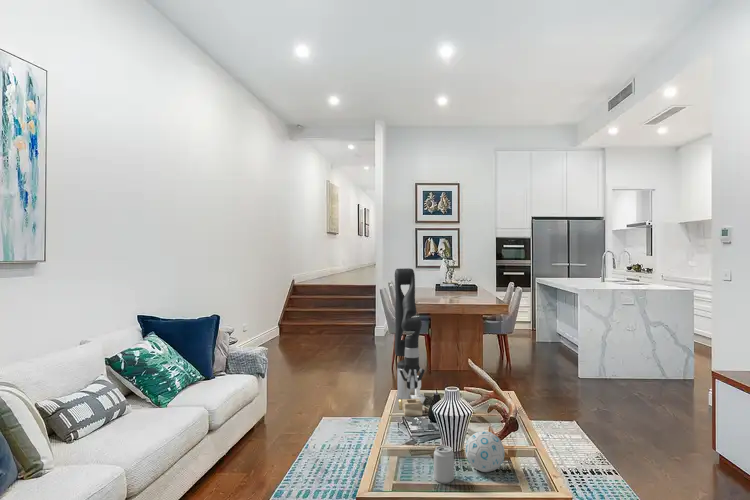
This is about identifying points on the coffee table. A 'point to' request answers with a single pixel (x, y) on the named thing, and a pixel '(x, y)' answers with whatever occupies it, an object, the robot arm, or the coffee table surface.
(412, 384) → the long pin
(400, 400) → the short pin
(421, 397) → the figurine
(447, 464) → the can
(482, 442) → the puzzle ball
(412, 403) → the hole block
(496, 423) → the coffee table surface
